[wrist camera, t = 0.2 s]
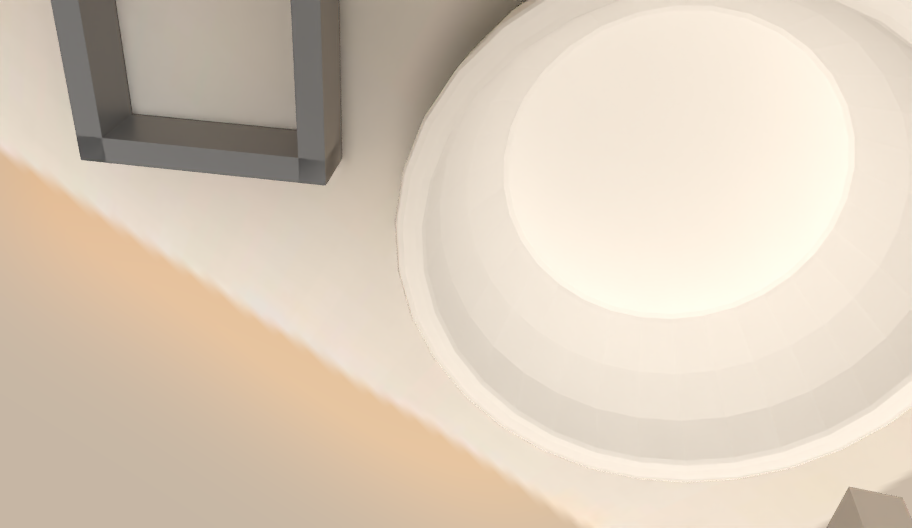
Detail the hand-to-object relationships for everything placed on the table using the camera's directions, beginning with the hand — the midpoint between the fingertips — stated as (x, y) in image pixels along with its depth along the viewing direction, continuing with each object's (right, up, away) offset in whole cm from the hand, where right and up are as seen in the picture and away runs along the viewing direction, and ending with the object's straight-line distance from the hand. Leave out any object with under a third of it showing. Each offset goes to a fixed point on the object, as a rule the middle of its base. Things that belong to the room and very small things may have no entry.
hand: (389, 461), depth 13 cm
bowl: (+11, +7, +26) cm, 29 cm away
